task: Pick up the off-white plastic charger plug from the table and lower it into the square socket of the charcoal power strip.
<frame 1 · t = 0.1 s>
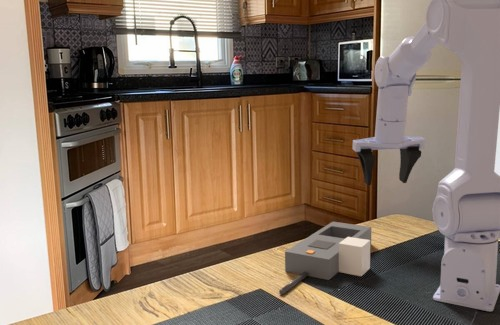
hand: (385, 182, 106), 10 cm above the table, tool pointing down, fingers open, 7 cm apart
power strip: (331, 256, 93), on the table
charger plug: (354, 270, 86), on the table, touching power strip
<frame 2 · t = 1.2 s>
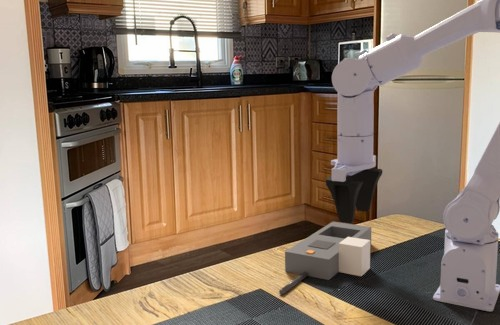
hand: (354, 216, 85), 9 cm above the table, tool pointing down, fingers open, 7 cm apart
nothing on the table moved.
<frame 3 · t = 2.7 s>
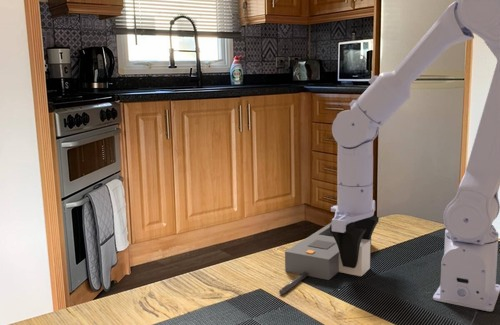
hand: (354, 262, 86), 1 cm above the table, tool pointing down, fingers closed on charger plug, 4 cm apart
charger plug: (354, 270, 86), on the table, touching gripper, power strip
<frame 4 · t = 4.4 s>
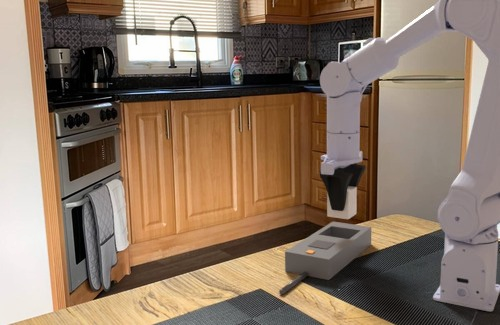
hand: (342, 207, 92), 9 cm above the table, tool pointing down, fingers closed on charger plug, 4 cm apart
charger plug: (341, 215, 92), point 8 cm above the table, touching gripper
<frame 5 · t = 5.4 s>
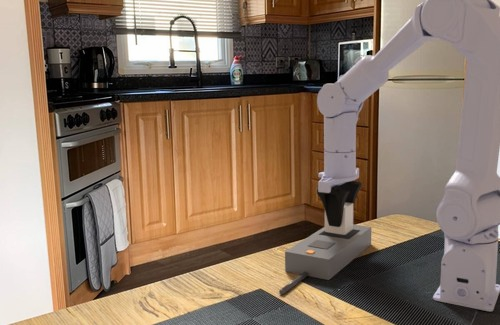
hand: (339, 222, 95), 5 cm above the table, tool pointing down, fingers closed on charger plug, 4 cm apart
charger plug: (338, 230, 95), point 4 cm above the table, touching gripper
when the fingers open (4 cm above the table, at t = 6.1 s): charger plug drops 2 cm, resting on power strip.
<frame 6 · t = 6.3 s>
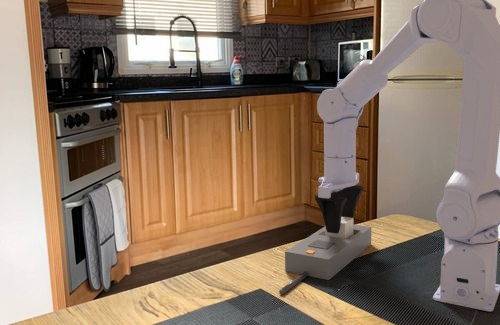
hand: (339, 227, 95), 4 cm above the table, tool pointing down, fingers open, 6 cm apart
charger plug: (339, 245, 96), point 1 cm above the table, touching power strip
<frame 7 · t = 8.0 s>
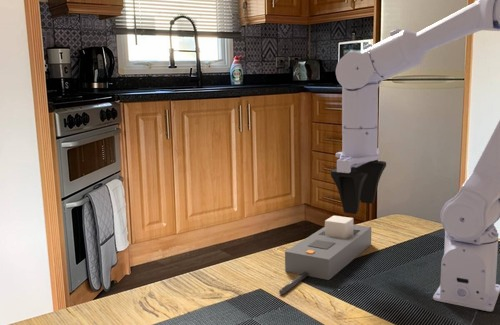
hand: (359, 207, 86), 10 cm above the table, tool pointing down, fingers open, 7 cm apart
nothing on the table moved.
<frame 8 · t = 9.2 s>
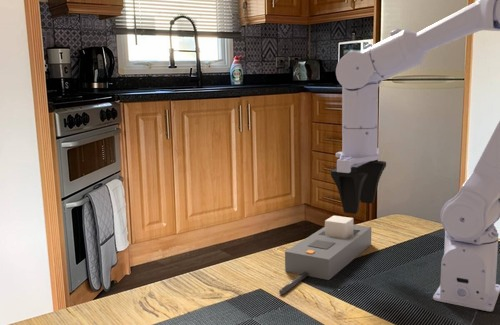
hand: (359, 207, 86), 10 cm above the table, tool pointing down, fingers open, 7 cm apart
nothing on the table moved.
at the end: charger plug 0.1 cm from the target spot on the power strip, point 1.0 cm above the power strip's base; charger plug tilted 0°; the gripper is holding nothing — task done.
